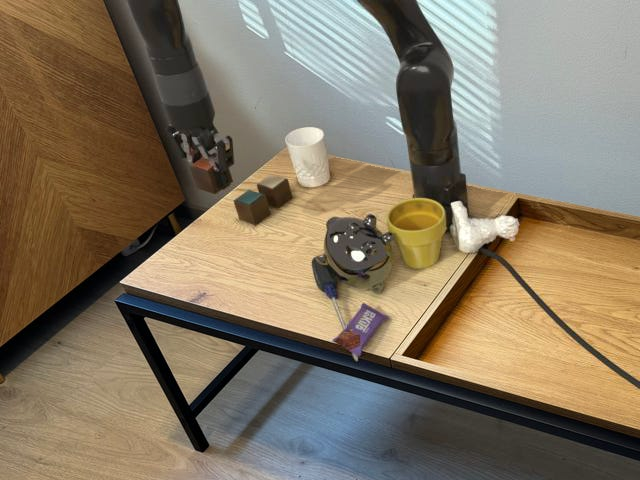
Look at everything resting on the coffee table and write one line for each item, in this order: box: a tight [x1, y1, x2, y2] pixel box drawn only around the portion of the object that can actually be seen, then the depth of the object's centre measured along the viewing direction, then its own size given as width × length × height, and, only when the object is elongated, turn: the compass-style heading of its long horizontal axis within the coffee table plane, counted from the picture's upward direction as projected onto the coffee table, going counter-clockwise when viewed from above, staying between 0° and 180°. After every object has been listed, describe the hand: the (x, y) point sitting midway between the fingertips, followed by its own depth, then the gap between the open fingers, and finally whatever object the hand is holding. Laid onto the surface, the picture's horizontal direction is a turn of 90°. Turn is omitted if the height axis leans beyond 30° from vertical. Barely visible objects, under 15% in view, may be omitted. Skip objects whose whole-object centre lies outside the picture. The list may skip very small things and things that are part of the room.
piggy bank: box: [315, 213, 396, 295], centre depth 139 cm, size 11×15×12 cm
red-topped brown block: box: [189, 156, 234, 195], centre depth 140 cm, size 4×4×5 cm
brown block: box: [256, 173, 294, 210], centre depth 163 cm, size 4×4×5 cm
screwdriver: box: [311, 256, 359, 362], centre depth 136 cm, size 26×4×4 cm
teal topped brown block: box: [233, 189, 272, 226], centre depth 159 cm, size 4×4×5 cm
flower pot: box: [386, 197, 447, 269], centre depth 144 cm, size 10×10×10 cm
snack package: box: [331, 302, 389, 357], centre depth 131 cm, size 12×2×5 cm
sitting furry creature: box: [449, 201, 520, 254], centre depth 147 cm, size 10×9×12 cm
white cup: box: [284, 126, 331, 188], centre depth 166 cm, size 8×8×10 cm
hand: (214, 183), depth 141 cm, fingers closed on red-topped brown block, 4 cm apart
